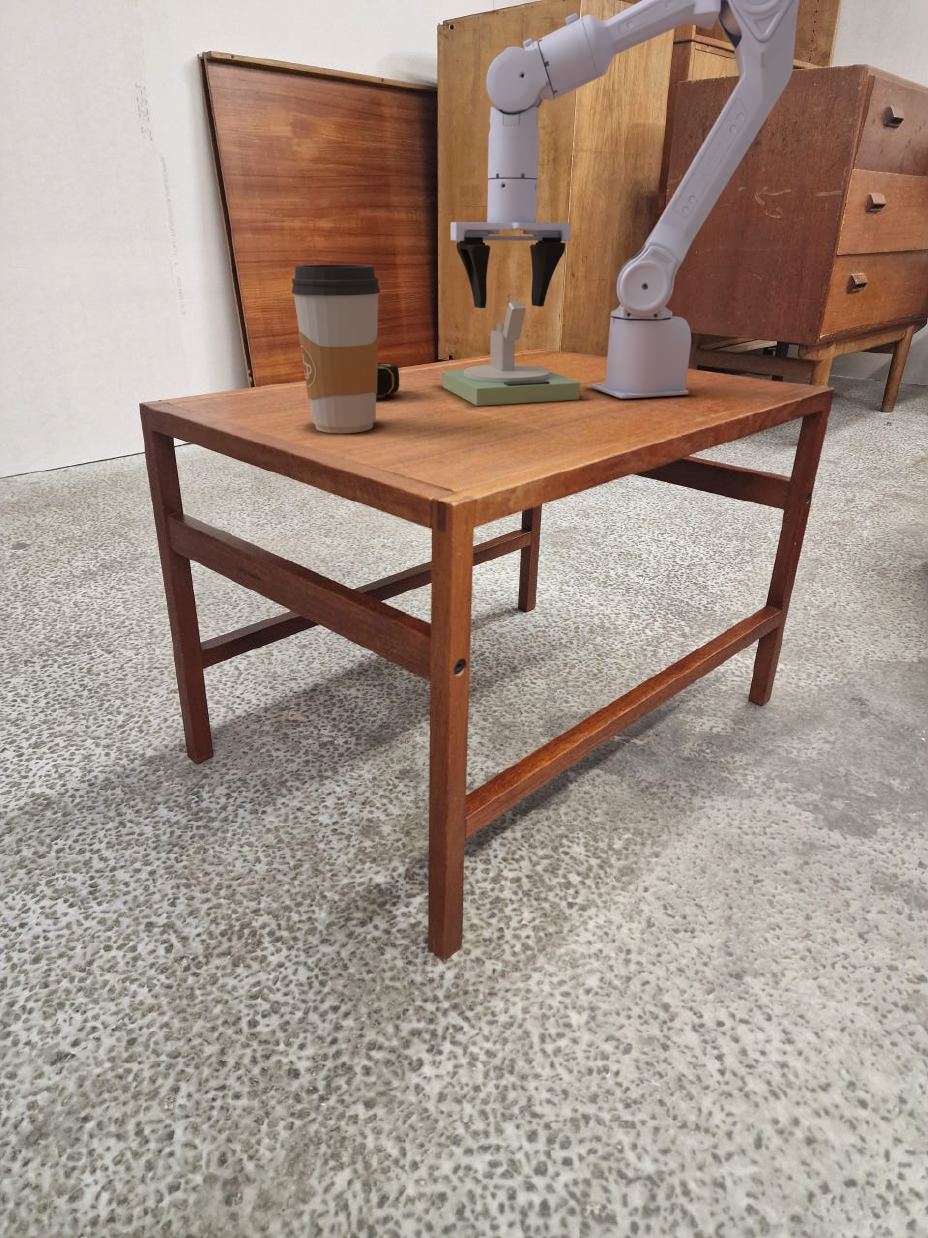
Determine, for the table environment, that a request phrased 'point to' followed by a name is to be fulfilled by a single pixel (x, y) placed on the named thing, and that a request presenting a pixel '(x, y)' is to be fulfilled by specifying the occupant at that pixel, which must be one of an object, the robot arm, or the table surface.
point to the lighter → (506, 338)
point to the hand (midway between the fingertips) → (509, 306)
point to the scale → (509, 385)
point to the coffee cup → (339, 343)
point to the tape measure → (387, 379)
